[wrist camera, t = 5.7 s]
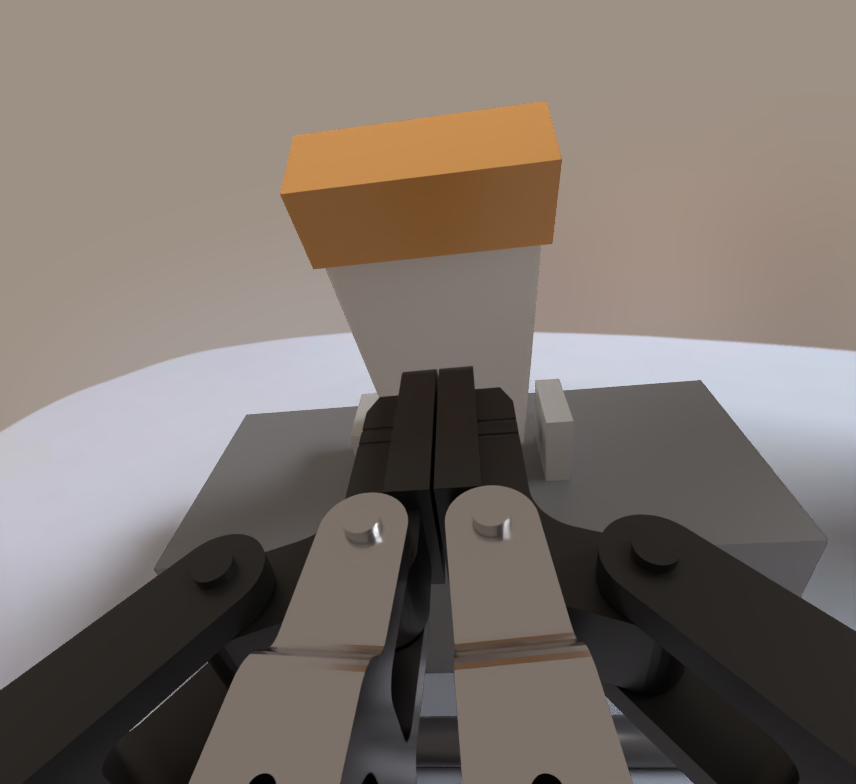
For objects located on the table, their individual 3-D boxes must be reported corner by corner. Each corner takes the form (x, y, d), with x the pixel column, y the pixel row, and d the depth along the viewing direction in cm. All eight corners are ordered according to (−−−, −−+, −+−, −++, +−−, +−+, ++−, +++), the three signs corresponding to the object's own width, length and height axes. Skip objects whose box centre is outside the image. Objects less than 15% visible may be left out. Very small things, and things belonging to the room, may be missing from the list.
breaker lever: (535, 459, 20) (578, 156, 9) (394, 467, 21) (265, 196, 10) (529, 417, 22) (561, 98, 10) (395, 426, 22) (280, 137, 11)
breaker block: (874, 871, 15) (1093, 701, 9) (158, 855, 18) (-34, 713, 12) (673, 489, 29) (708, 322, 23) (288, 510, 32) (230, 364, 26)
